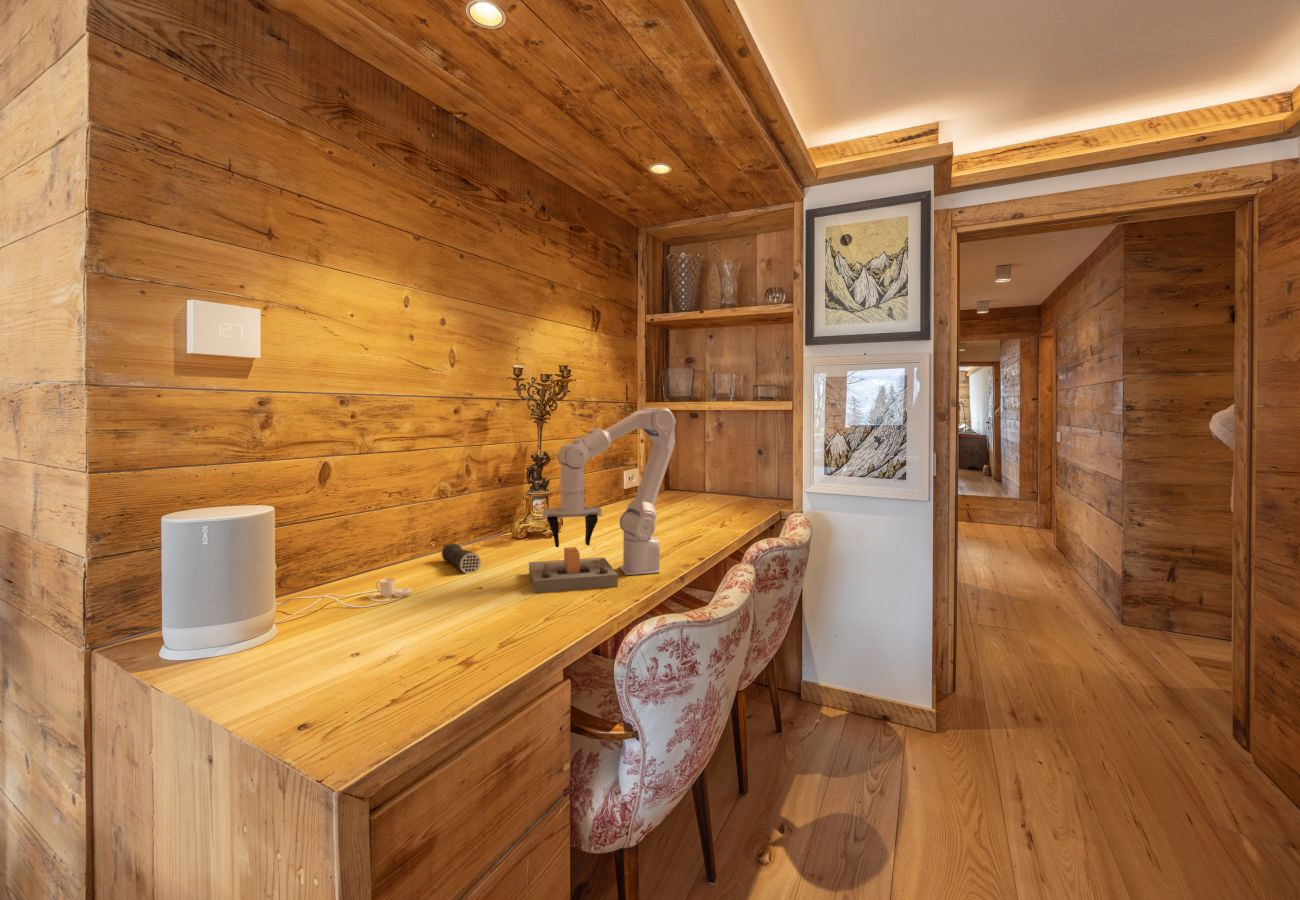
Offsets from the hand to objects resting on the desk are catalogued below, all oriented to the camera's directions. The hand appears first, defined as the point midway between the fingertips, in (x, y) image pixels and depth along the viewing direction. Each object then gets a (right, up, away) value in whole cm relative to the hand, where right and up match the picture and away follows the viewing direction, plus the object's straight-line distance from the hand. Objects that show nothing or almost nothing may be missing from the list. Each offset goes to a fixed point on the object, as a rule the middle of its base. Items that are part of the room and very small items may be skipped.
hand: (572, 545), depth 143 cm
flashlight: (-32, -8, +11) cm, 34 cm away
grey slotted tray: (0, -9, +1) cm, 9 cm away
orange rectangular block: (0, -6, +1) cm, 6 cm away
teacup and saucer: (-39, -10, -16) cm, 43 cm away
